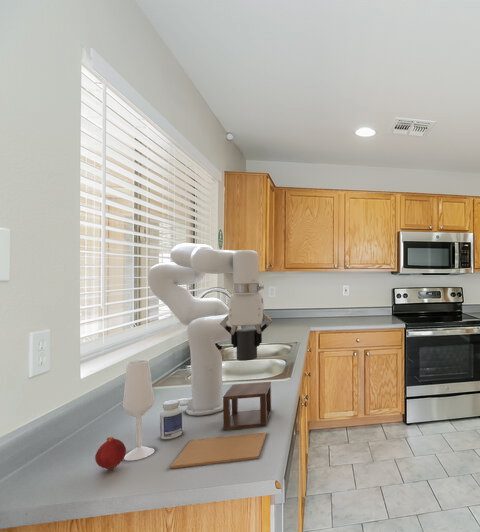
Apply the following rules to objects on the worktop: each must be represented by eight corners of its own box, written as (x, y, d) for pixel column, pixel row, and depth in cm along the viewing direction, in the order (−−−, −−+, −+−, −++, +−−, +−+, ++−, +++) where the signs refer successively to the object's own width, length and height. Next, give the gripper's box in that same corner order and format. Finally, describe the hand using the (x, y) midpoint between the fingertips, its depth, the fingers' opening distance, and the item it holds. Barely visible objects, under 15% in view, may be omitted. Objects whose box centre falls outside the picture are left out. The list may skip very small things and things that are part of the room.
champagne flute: (160, 447, 101) (159, 358, 101) (143, 460, 94) (142, 364, 94) (135, 448, 100) (133, 359, 100) (116, 461, 94) (115, 365, 94)
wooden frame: (223, 430, 111) (222, 396, 111) (233, 415, 122) (232, 384, 122) (266, 426, 113) (265, 393, 113) (271, 411, 125) (270, 381, 125)
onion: (107, 464, 92) (106, 431, 92) (131, 462, 93) (131, 430, 93) (89, 477, 86) (89, 442, 87) (115, 475, 87) (115, 441, 87)
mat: (170, 468, 90) (170, 466, 90) (190, 442, 103) (190, 440, 103) (258, 458, 94) (258, 456, 94) (266, 434, 107) (266, 432, 107)
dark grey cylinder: (234, 361, 114) (234, 331, 114) (238, 356, 120) (238, 328, 120) (255, 360, 115) (255, 331, 115) (258, 355, 121) (258, 327, 121)
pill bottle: (186, 432, 109) (186, 399, 109) (170, 440, 104) (169, 406, 104) (172, 430, 111) (172, 397, 111) (155, 438, 106) (155, 404, 106)
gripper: (276, 288, 123) (276, 342, 123) (219, 289, 120) (220, 345, 120) (273, 289, 116) (273, 347, 116) (213, 290, 112) (213, 350, 112)
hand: (246, 345), depth 118 cm, fingers closed on dark grey cylinder, 6 cm apart
